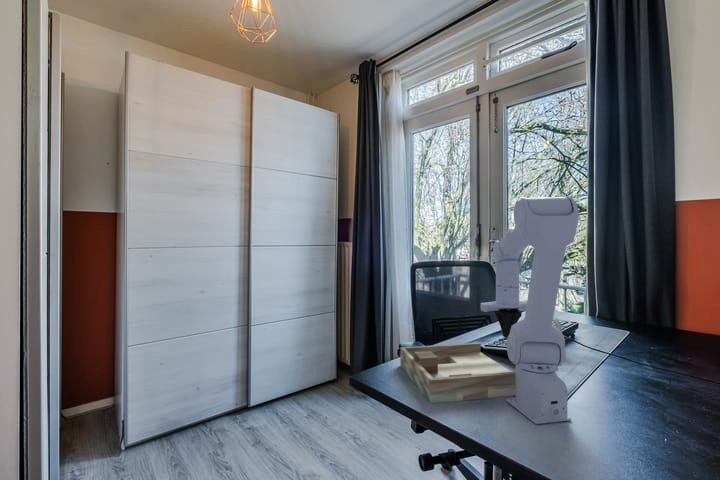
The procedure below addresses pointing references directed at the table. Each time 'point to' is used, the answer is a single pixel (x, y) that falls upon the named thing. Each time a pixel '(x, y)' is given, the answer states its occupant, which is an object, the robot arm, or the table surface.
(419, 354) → the block
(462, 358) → the board
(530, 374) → the robot arm
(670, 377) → the table surface
